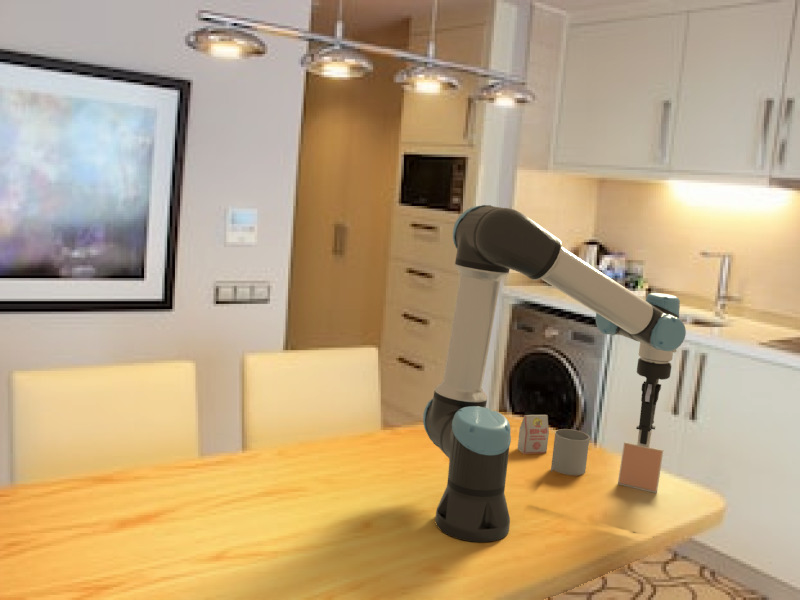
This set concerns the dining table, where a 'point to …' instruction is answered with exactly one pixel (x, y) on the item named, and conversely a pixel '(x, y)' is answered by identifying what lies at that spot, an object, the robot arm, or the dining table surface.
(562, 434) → the cup
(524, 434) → the white printed box
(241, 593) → the dining table surface
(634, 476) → the tile
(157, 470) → the dining table surface
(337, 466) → the dining table surface
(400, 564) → the dining table surface
